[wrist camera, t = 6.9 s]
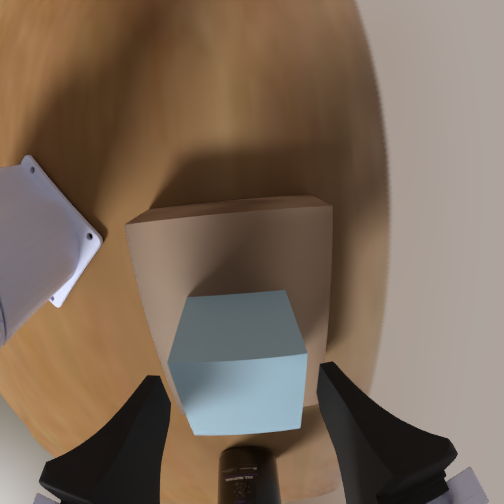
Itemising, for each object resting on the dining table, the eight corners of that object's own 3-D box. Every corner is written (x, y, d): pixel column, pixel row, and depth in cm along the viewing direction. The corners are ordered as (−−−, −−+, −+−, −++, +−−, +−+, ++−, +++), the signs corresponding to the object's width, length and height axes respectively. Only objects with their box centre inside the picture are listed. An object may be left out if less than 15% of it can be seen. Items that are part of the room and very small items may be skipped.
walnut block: (187, 378, 21) (181, 414, 17) (148, 209, 16) (124, 224, 12) (307, 368, 21) (318, 403, 17) (310, 194, 16) (332, 205, 12)
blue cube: (202, 368, 15) (194, 435, 11) (186, 297, 14) (167, 362, 9) (285, 362, 15) (300, 428, 11) (285, 289, 14) (307, 353, 9)
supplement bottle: (239, 439, 24) (243, 535, 13) (286, 451, 26) (301, 534, 14) (208, 459, 26) (205, 540, 14) (252, 470, 27) (258, 544, 16)
